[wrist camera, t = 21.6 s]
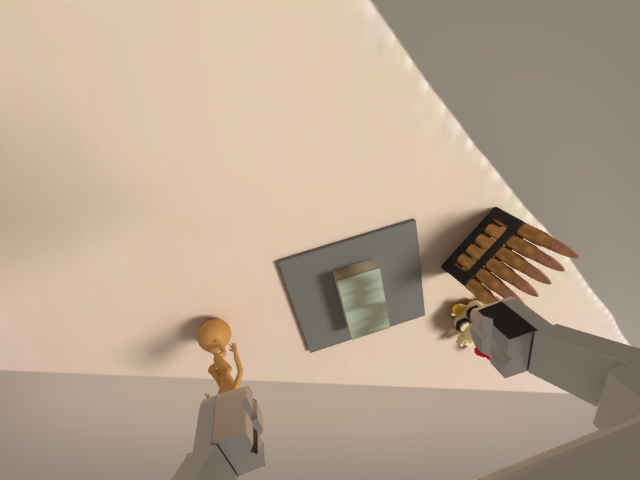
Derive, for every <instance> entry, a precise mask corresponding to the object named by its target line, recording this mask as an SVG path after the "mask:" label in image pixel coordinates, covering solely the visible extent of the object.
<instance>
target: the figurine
mask: <svg viewBox="0 0 640 480" xmlns="http://www.w3.org/2000/svg"><path fill="white" fill-rule="evenodd" d="M230 337H231V331H230V327H229V326H228V324H227V323H226V322H225V321H223V320H220V319H211V320H208V321H206V322H205V323H204V324H203V325H202V326H201V327H200V329H199V331H198V334H197V340H198V343H199V345H200V347H201V348H202V349H204V350H205V351H208V352H210V353H212V354H213V355H214V362H215V363H214V364H212V365H211V366H210V367H209V369H208V372H209V373H210V374H211V375H212V376H213V378H214V379H215V380H216V382H217V384H218V385H219V387H220V388H219V391H218V395H219V394H222V393H225V392H228V391H232V390H235V389H238V388H240V382H241V379H242V375H243V368H242V365H241V362H240V359H239V356H238V354H237V347H236V344H235V342H234V345H233V343H232V346H231V345H230V344H229V345H230V347H231V348H232V349H229V350H230V351H233V352H234V358H235V362H236V365H237V370H238V374H237V376H236V379H235V382H234V380H233V378H232V377H231V375H230V372H231V370H232V368H231V366H230V365H229V364H228V363H227V362H226V361H225V360H224V359H223V358H222V357H224V356H226V350H225V348H224V347H225V346H226V345H227V344H228V342H229V340H230ZM220 350H221V352H219V353H218V352H217V351H220ZM216 368H217V369H216ZM206 397H207V398H210V397H209V395H207V394H206Z"/></svg>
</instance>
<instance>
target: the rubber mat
mask: <svg viewBox="0 0 640 480" xmlns="http://www.w3.org/2000/svg"><path fill="white" fill-rule="evenodd" d="M372 258H373V259H374V261H375V262H376V263H377V265H378V266H379V267H380V272H381V278H382V283H383V289H384V295H385V301H386V307H387V313H388V318H389V324H390V327H391V326H394V325H397V324H400V323H403V322H406V321H409V320H412V319H415V318H418V317H421V316H424V315H425V310H424V300H423V290H422V279H421V269H420V259H419V249H418V238H417V228H416V220H415V219H411V220H408V221H404V222H401V223H398V224H395V225H391V226H388V227H385V228H381V229H378V230H375V231H372V232H368V233H365V234H362V235H359V236H355V237H352V238H349V239H345V240H342V241H339V242H336V243H332V244H329V245H326V246H322V247H319V248H316V249H313V250H309V251H306V252H303V253H300V254H296V255H293V256H290V257H286V258H283V259H280V260H278V264H279V267H280V270H281V272H282V275H283V278H284V281H285V284H286V286H287V289H288V292H289V295H290V298H291V300H292V303H293V306H294V309H295V312H296V314H297V317H298V320H299V323H300V326H301V329H302V331H303V334H304V337H305V340H306V343H307V345H308V348H309V351H310V353H312V352H315V351H318V350H321V349H324V348H327V347H330V346H333V345H336V344H339V343H342V342H345V341H348V340H351V339H352V338H351V336H350V333H349V331H348V328H347V325H346V321H345V317H344V313H343V309H342V305H341V301H340V298H339V294H338V290H337V286H336V282H335V278H334V275H333V271H334V270H337V269H340V268H343V267H347V266H350V265H353V264H356V263H360V262H363V261H366V260H369V259H372Z"/></svg>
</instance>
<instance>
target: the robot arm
mask: <svg viewBox="0 0 640 480" xmlns="http://www.w3.org/2000/svg"><path fill="white" fill-rule="evenodd" d="M470 318H471V319H472V320H473V321H474V322H473V323H472V325H471V326H470V335H471V338H472V340H473V342H474V344H475V345H476V347H477V348H478V349H479V350H480V352H481V353H483V354H486V355H488V356H490V361H491V364H492V365H493V366H494V367H495V368H496V369H497V370H498V371H499V372H500V373H501V374H502V376H503V377H504V378H507V377H510V376H513V375H516V374H519V373H522V372H525V371H528V370H529V371H528V372H529V373H531V374H533V375H535V376H537V377H539V378H541V379H543V380H545V381H547V382H549V383H551V384H553V385H555V386H557V387H559V388H561V389H563V390H565V391H567V392H569V393H571V394H573V395H575V396H577V397H579V398H581V399H583V400H585V401H586V402H589V403H590V404H593V405H594V406H596V407H597V408H596V410H595V413H594V416H593V424H594V425H595V426H596V427H597V428H598V429H599V430H598V431H595V432H593V433H590V434H588V435H585V436H583V437H580V438H578V439H575V440H573V441H570V442H567V443H566V444H562V445H560V446H557V447H555V448H552V449H550V450H547V451H545V452H542V453H540V454H537V455H535V456H532V457H530V458H527V459H525V460H522V461H519V462H517V463H514V464H512V465H509V466H507V467H504V468H502V469H499V470H496V471H494V472H491V473H489V474H487V475H484V476H481V477H479V478H476V479H474V480H640V349H639V348H636V347H632V346H629V345H626V344H622V343H619V342H616V341H612V340H609V339H605V338H602V337H599V336H595V335H592V334H589V333H585V332H582V331H578V330H575V329H572V328H568V327H565V326H562V325H558V324H555V325H552V324H550V323H549V322H548V321H546V320H545V319H544V318H542V317H541V316H540V315H538V314H537V313H535V312H534V311H533V310H531V309H530V308H529V307H527V306H526V305H525V304H523V303H522V302H521V301H519V300H518V299H517V298H515V297H512V296H510V297H507V298H504V299H501V300H498V301H495V302H492V303H489V304H486V305H484V306H481V307H478V308H475V309H472V311H471V312H470ZM262 431H263V422H262V415H261V410H260V407H259V404H258V402H257V400H255V399H253V396H252V390H251V389H250V387H249V386H245V387H241V388H238V389H235V390H232V391H228V392H225V393H222V394H219V395H216V396H213V397H210V398H207V399H204V400H202V402H201V405H200V409H199V416H198V422H197V429H196V435H195V441H194V447H193V452H191V453H189V454H188V455H187V456H186V458H185V459H184V461H183V462H182V464H181V465H180V467H179V468H178V470H177V471H176V473H175V474H174V476H173V478H172V479H171V480H238V476H240V475H242V474H245V473H247V472H250V471H252V470H255V469H257V468H260V467H262V466H265V463H264V443H263V442H262V439H261V438H260V435H261V433H262Z"/></svg>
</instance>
